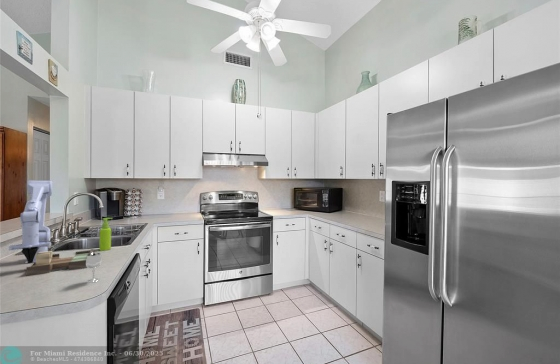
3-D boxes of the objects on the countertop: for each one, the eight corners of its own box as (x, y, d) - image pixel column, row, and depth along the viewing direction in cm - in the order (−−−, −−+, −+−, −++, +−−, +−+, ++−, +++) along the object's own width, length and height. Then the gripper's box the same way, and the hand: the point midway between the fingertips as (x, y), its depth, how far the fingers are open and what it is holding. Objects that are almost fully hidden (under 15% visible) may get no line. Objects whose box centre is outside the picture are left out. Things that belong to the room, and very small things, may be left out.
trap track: (39, 262, 129) (39, 254, 129) (93, 256, 141) (93, 248, 141) (26, 275, 113) (26, 266, 113) (88, 267, 125) (88, 258, 125)
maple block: (39, 261, 124) (39, 252, 124) (52, 260, 127) (52, 250, 126) (35, 265, 120) (35, 254, 120) (49, 263, 122) (49, 253, 122)
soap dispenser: (114, 248, 158) (115, 217, 157) (103, 251, 151) (104, 219, 151) (108, 247, 160) (108, 216, 159) (97, 250, 153) (97, 218, 153)
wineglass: (91, 278, 112) (91, 252, 112) (104, 278, 113) (104, 252, 113) (82, 283, 107) (82, 256, 106) (95, 283, 107) (96, 256, 107)
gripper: (5, 238, 113) (5, 267, 113) (48, 235, 121) (47, 262, 121) (12, 235, 119) (12, 263, 119) (52, 232, 127) (51, 258, 127)
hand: (30, 262), depth 120 cm, fingers closed
